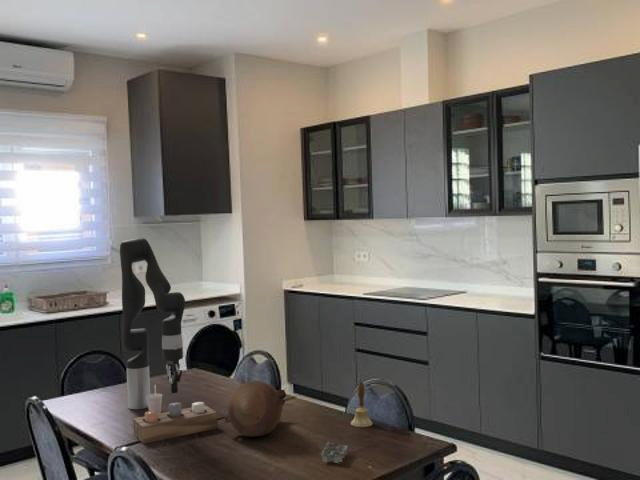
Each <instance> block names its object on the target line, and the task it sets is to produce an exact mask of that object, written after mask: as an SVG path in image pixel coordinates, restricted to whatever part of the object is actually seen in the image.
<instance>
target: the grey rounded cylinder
mask: <svg viewBox="0 0 640 480" xmlns="http://www.w3.org/2000/svg"><path fill="white" fill-rule="evenodd" d="M182 409H183V408H182V403H181V402H179V401H178V402H170V403H169V404H168V412H169V418H176V417H181V416H182Z"/></svg>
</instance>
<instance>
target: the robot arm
mask: <svg viewBox="0 0 640 480" xmlns="http://www.w3.org/2000/svg"><path fill="white" fill-rule="evenodd" d="M151 246H152V245H150V243H149V242H148V240H147V238H144V237H138V238H132V239H126V240H123V241H121V243H120V246H119V257H120V266H121V267H120V268H121V307H122V328H121V347H122V350H123V351H124V352H136V351H137V352H138V351H140V352H139V353H138V354H137V355H135V356H133V357H130V358H129V359H127V361H126V363H125V364H126V380H127V381H126V386H127V406H128V409H130V410H144V409H148V403H147V399H146V396H147V395H149V394H151V382H150V381H151V379H150V377H151V376H150V362H149V361H150V360H149V359H150V358H149V345H150V344H149V343H150V342H149V337H150V336H149V332H148V331H149V330H148V329H146V328H145V327H144V328H143V327H141V328H132V325H133V324H134V321H135V320H136V319H137V317H138V316H139V314H140V313H141V312H142V311H143V309H144V307H145V305H146V288H145V285H144V284H143V283H142V282H141V281H140V280H139V278H138V277H137V276H136V274H135V273H134V271H133V264H134V263H138V262H144V261H145V262H146V271H145V276H144V277H145V282H146V284H147V285H148V287H149V289H150V291H151V292H152V294H153V298H154V302H155V303H154V304H155V307H156V309H157V310H158V311H159V312H160V313H171V315H170V316H169V317H166V318H165V319H163V320H162V322H161V350H162V352H161V353H162V358H161V359H162V360H163V361H166V365H164V369H165V372H166V377H167V380H168V382H169V384H170V393H171V394H178V391H179V389H178V383H180V381H181V378H182V373H183V370H182V369H181V364H180V362H179V361H180V360H182V359H183V358H184V346H183V343H184V341H183V336H182V335H183V334H182V320H183V315H184V312H185V307H186V299H185V296H184V294H183V293H182V292H179V291H177V292H175V291H174V292H170V291H171V289H172V288H171V287H172V286H171V284H170V282H169V280H168V279H167V278H166V276H165V275H164V274H165V273H163V272H162V270H161V268H160V266H159V263H158V260H157V258H156V256H155V253H154V251H153V249H152V247H151Z"/></svg>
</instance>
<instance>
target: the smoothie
mask: <svg viewBox="0 0 640 480" xmlns="http://www.w3.org/2000/svg"><path fill="white" fill-rule="evenodd" d="M153 386H154V393H150V394H149V395H147V396H146V399H147V403H148V407H147V409H148V411H158V414H160V413H162V412H161V411H162V399H163V394H162V393H157V384H154V385H153Z"/></svg>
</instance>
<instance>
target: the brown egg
mask: <svg viewBox="0 0 640 480" xmlns="http://www.w3.org/2000/svg"><path fill="white" fill-rule="evenodd" d="M144 416H145V423H151V422H156V421H158V411H149V410H148V411H145V412H144Z"/></svg>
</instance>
